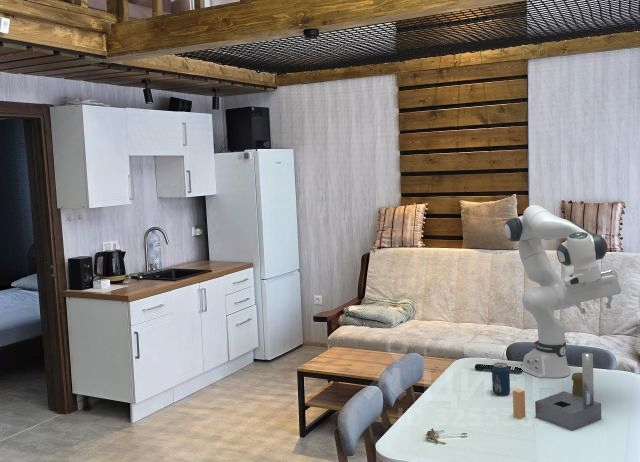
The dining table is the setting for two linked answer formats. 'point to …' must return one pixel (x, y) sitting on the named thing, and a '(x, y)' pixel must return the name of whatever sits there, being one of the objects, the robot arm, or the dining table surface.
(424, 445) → the dining table surface
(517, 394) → the orange brown rectangular block
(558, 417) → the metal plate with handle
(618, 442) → the dining table surface
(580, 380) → the cork
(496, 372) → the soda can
